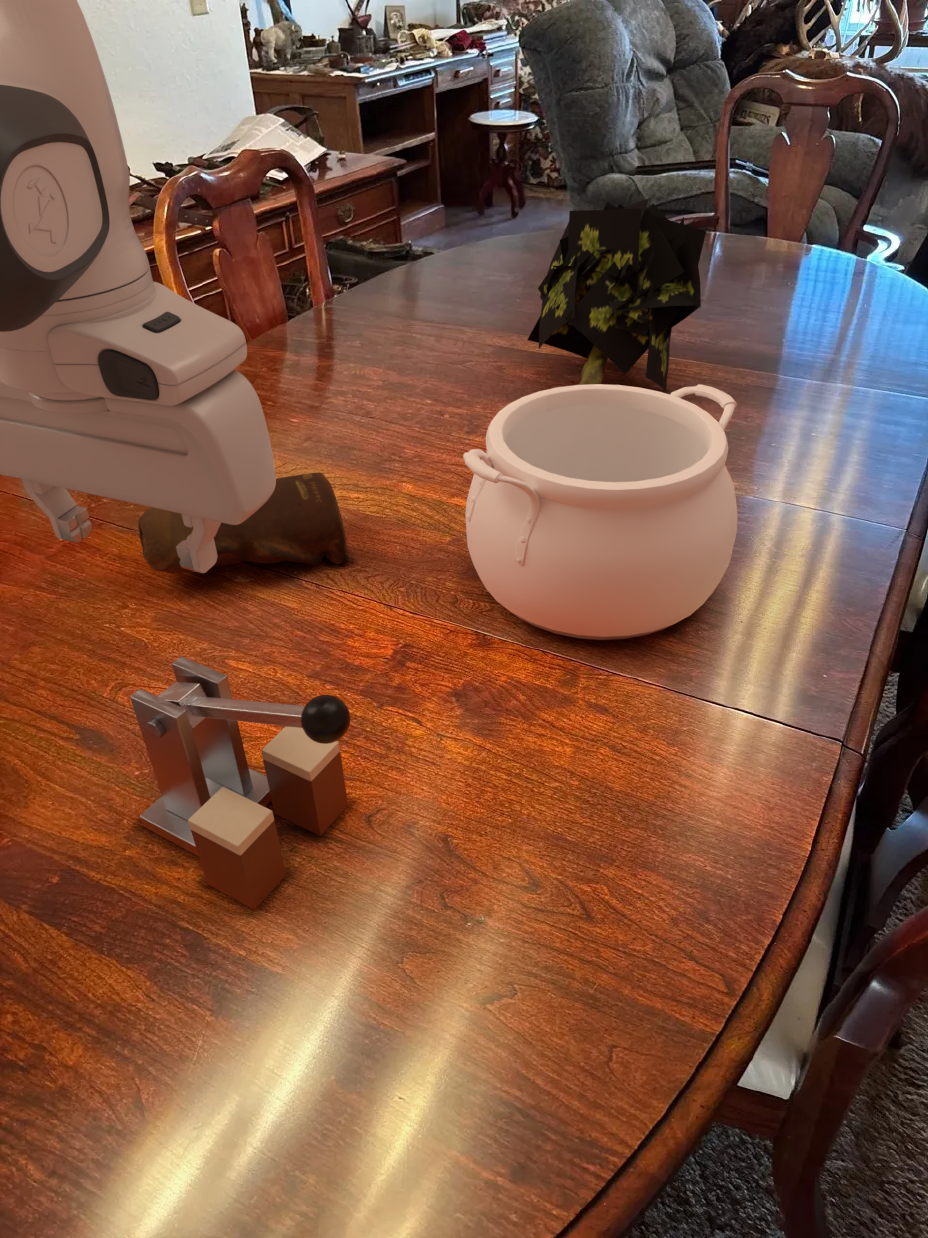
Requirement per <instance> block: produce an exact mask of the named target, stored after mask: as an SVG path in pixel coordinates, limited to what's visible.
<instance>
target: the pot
mask: <svg viewBox="0 0 928 1238" xmlns="http://www.w3.org/2000/svg"><path fill="white" fill-rule="evenodd" d="M693 394H694V396H696V397H697V396H698V397H703V398H707V399H709V400H712V401H714V402H716V403H717V404H718V405H719V406H720V407H721V409H723V412H722V414H721V417H720V419H719V421H718V420H717V419H716V418H715V417H713V416H712V414H710V413H709V412H707V411H706V410H705V409H703V408H701V407H700V406H698V405H696V404H694V403H693V402H690V401H688V400H686V399H684V397H685V396H688V395H693ZM737 407H738V403H737V402H736V400H735V399H734V398H733V397H732V396H731V395H730V394H728V393H727V392H725V391H723V390H721V389H718V388H716V387H713V386H710V385H706V384H701V383H698V384H697V385H694V386H684V387H681V388H679V389H677V390H673V391H671V393H670V394H669V393H665V392H663V391H658V390H654V389H649V388H643V387H638V386H630V385H624V384H623V385H621V384H604V383H603V384H602V383H601V384H590V385H579V384H574V385H566V386H557V387H553V388H548V389H544V390H539V391H536V392H533V393H530V394H527V395H524V396H522V397H519V398H518V399H516V400H514V401H512V402H509V403H508V404H507V405H505V406H504V407H503V408H502V409H501V410H499V411H497V413H496V415H495V416H494V417H493V418H492V420H491V421H490V423H489V424H488V427H487V430H486V434H485V448H486V452H484V451H483V449H480V448H474V449H470V450H469V451H467V452H464V453H463V455H462V458H463V461H464V464H465V466H466V467H467V468H468V469H469V470H470V471H471V472H472V473H473V477H472V480H471V483H470V485H469V491H468V494H467V498H466V503H465V504H466V505H465V514H464V518H465V532H466V544H467V545H466V546H467V549H468V552H469V556H470V559H471V562H472V564H473V567H474V570H475V571H476V573H477V575H478V577H479V579H480V581H481V583H482V584H483V587H484V588H485V589H486V590H487V592H488V593H489V594H490V595H491V597H492V598H493V599H494V600H495V602H497V603H498V604H500V605H501V606H502V607H504V609H506V610H508V611H509V612H510V613H512V614H513V615H514V616H516V617H517V618H518V619H520V620H522V621H524V622H525V623H528V624H529V625H532V626H534V627H536V628H538V629H541V630H544V631H547V632H550V633H552V634H556V635H560V636H565V637H571V638H574V639H575V638H576V639H584V640H593V641H611V640H613V641H614V640H626V639H627V640H628V639H633V638H638V637H643V636H647V635H651V634H653V633H657V632H659V631H663V630H665V629H667V628H669V627H671V626H673V625H675V624H677V623H679V622H680V621H682V620H684V619H686V618H688V617H690V616H692V614H694V613H695V612H696V611H697V610H698V609H699V608H700V607H702V606H703V605H704V604H705V602H706V601H707V600H708V599H709V598H710V597H711V596H712V595H713V593H714V592H715V590H716V588H717V587H718V585H719V584H720V582H721V581H722V579H723V577H724V575H725V573H726V571H727V570H728V567H729V565H730V563H731V559H732V555H733V551H734V546H735V542H736V537H737V533H738V520H739V515H738V514H739V513H738V505H737V498H736V489H735V485H734V481H733V479H732V477H731V475H730V472H729V470H728V468H727V466H726V461H727V458H728V454H729V443H728V437H727V435H726V432H725V429H726V427H728V424H729V422H730V420H731V418H732V416H733V414H734V413H735V409H736V408H737Z"/></svg>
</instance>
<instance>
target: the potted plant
mask: <svg viewBox="0 0 928 1238" xmlns="http://www.w3.org/2000/svg"><path fill="white" fill-rule="evenodd" d="M649 201H650V198H649V197H648V198H645V199H642V200H639V201H636V202H634V203H632V204H629V205H626V206H625V207H624V206H623V205H621V204H620V203H619V204H618V206H615V205H614V204H611V203H610V202H606V203H605V206H604V208H603V209H584V210H582V209H581V210H569V215H568V222H567V225H566V227H565V229H564V231H563V234H562V236H561V238H560V239H559V243H558V245H557V247H556V249H555V252H554V254H553V256H552V259H551V261H550V264H549V267H548V270H547V274H546V275H545V277H544V278H543V280H542V281H541V283H540V284H539V285H538V287H537V290H538V291H539V293H540V295H539V298H540V300H541V301H542V302H541V309H540V316H538V319H537V321H536V323H535V325H534V326H533V328H532V330H531V332H530V333H529V336H528V337H527V340H526V341H530V342H534V343H538V350H540V349H541V348H542V346H543V345H547V346H549V347H554V348H557V349H560V350H563V351H566V352H569V353H570V354H574V355H576V356H579V357H582V358H584V359H586V360H587V361H586V362H585V364H584V365H583V367H582V369H581V373H580V374H581V375H580V377H581V379H580V382H579V383H578V385H590V384H602V382H603V379H604V376H605V373H606V366H607V363H608V360H609V361H610V362H611V363H612V364H613V365H614V366H615V367H616V368H617V369H618V370H619V371H620V372H621V373H622V374H623V375H624V376H626V375H627V374H628V373H629V371H630V370H631V369H632V368H633V367H634V366H635V365H636V363H637V362H638V361H639V360H640V359H641V358H642V357H643V356H644V354H646V352H647V357H646V367H645V375H644V378H645V379H647V380H649V381H650V382H653V383H654V384H656V385H657V386H659V387H660V388H661V389H662V390H663V391H664V393H666V392H667V384H668V376H669V368H670V367H669V366H670V349H671V337H672V329H673V328H674V327H675V326H676V325H678V324H680V323H681V322H683V321H685V319H687V318H688V317H689V316H691V315H692V314H693V313H695V312H696V311H697V310H698V309H700V308H701V307H702V301H701V300H702V299H701V296H702V295H701V276H700V269H699V264H700V260H701V256H702V252H703V249H704V248H703V247H704V244H705V238H706V235H707V230H706V229H701V228H698V227H696V226H694V224H695V222H696V218H695V219H694V220H693V221H692V222H691V223H690V224H685V217H684V216H683V217H682V219H681V220H680V222H678V221H675V220H671V219H668V217H666V216H665V214H664V213H663V212H662V211H661V210H660V209H659V208H658V207H657V206H656V205H655V203H653V202H652V203H651V204H650V205H649V206H648V204H649ZM647 206H648V207H647ZM666 394H667V393H666Z"/></svg>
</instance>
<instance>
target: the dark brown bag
mask: <svg viewBox="0 0 928 1238" xmlns="http://www.w3.org/2000/svg"><path fill="white" fill-rule="evenodd" d="M137 528H138V535H139V542H140V545H141V548H142V556H143V559H144V561H146V563H147V564H148V566H149V567H150V568H151V569H152V570H154V571H156V572H164V573H167V574H186V573H187V574H188V573H193V572H194V571H192V570H188V569H185V568H182V567H181V566H180V560H181V559H180V558H179V557H178V554H177V550H176V546H177V545H178V544H179V543H180V542H182V541H184V540H187V537H188V536H189V535H190V534H191V533H192V531H193V527H186V526H185V525H184V522H183V518H182V514H181V513H176V512H172V511H167V510H162V509H158V508H153V507H150V508H149V509H147V510H146V511H145V512H144V513H142V515H141V516H140V517H139V518H138V520H137ZM345 529H346V528H345V525H344V522H343V517H342V514H341V510H340V507H339V503H338V500H337V497H336V494H335V491H334V488H333V486H332V483H331V482H330V481H329V480H328V478H327V477H326V476H325V475H324V474H323V472H310V473H302V474H297V475H289V476H283V477H276V486H275V489H274V492H273V493H272V495H271V496H270V498H269V499H268V500H267V501H266V503H265V504H264V505H263V506H262V507H261V508H260V509H259V510H257V511H256V512H255V513H254V514H253V515H251V516H250V517H249V518H248V519H246V520H245V521H244V522H242V523H241V524H238V525H231V524H226V523H222V522H221V524H220V526H219V529H218V531H217V533H216V535H215V537H214V541H215V546H216V551H217V556H218V557H217V561H216V563H215V565H213V566H212V567H211V568H215V567H222V566H228V565H234V564H238V563H241V562H246V561H247V562H253V563H257V564H263V565H264V564H265V565H267V564H275V563H280V562H284V561H288V562H295V563H304V564H309V565H318V564H320V563H321V562H322V559H323V558H324V557H325V558H327V560H329V562H331V563H332V564H335V565H336V564H337V565H342V564H344V563H347V562H348V561H349V559H350V554H349V550H348V545H347V536H346V531H345Z"/></svg>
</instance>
